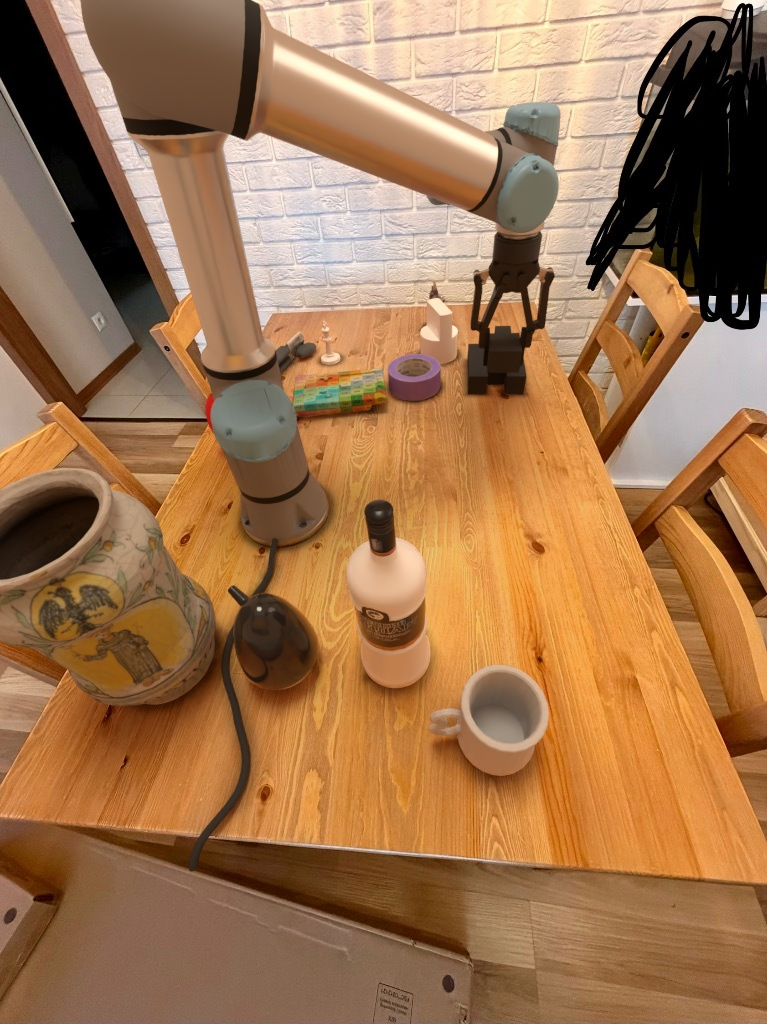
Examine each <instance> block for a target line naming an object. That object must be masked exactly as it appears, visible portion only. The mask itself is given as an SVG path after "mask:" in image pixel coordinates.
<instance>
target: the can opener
mask: <svg viewBox="0 0 767 1024" xmlns="http://www.w3.org/2000/svg"><path fill="white" fill-rule="evenodd" d="M275 350H276V355H277V360H278V365H279V370H280V375H281V374H283V372H284V371H285V370H286V369H287V368H288V367H289V366H290V365H291V364H292V363H293V360H294V359H295V358H294V356H296V358H297V359H298V358H299V359H306V358H309V357H311V356H313V355H314V354H315V352H316V350H317V345H316V343H314V342H308V341H307V342H305V337H304V334H303V333H302V331H300V330H298V331H297V332H296V333H295V334H294V335H293V336H292V337H291V338H290V339H288V341H287V342H286V343H285V344H284V345H280V346H279V347H277V348H276V349H275Z"/></svg>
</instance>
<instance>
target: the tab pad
mask: <svg viewBox="0 0 767 1024" xmlns="http://www.w3.org/2000/svg"><path fill="white" fill-rule="evenodd" d="M511 326H512V325H495V326H494V331H493V332H492V333H491V332H490V342H489V350H488V360H487V373H519V370H520V363H521V357H522V346H521V340H520V336H521V333H520V332H512V328H511Z"/></svg>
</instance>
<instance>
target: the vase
mask: <svg viewBox="0 0 767 1024" xmlns="http://www.w3.org/2000/svg"><path fill="white" fill-rule="evenodd" d="M215 634H216V613H215V608H214V605H213V601H212V600H211V597H210V596H209V594H208V592H207V591H206V590H205V589H204V587H202V585H201V584H199V583H198V582H197V581H196V580H195V579H193V578H191V577H190V576H188V575H186V574H184V573H182V571H181V570H180V568H179V567H178V565H177V564H176V562H175V561H174V559H173V556H172V555H171V554H170V552H169V551H168V549H167V547H166V546H165V544H164V534H163V531H162V529H161V526H160V524H159V521H158V520H157V518H156V517H155V515H154V514H153V512H152V511H151V510H150V509H149V508H148V507H147V506H146V505H145V504H144V503H142V502H141V501H139V499H137V498H135V497H134V496H132V495H130V494H128V493H125V492H122V491H119V490H116V489H112V488H111V486H110V485H109V483H108V481H107V480H106V479H105V478H104V477H102V475H100V474H99V473H98V472H95V471H93V470H90V469H85V468H81V467H80V468H79V467H59V468H53V469H48V470H42V471H39V472H36V473H33V474H30V475H26V476H24V477H22V478H20V479H18V480H16V481H13V482H11V483H9V484H7V485H4V486H3V487H2V488H1V489H0V642H1V643H4V644H6V645H9V646H13V647H18V648H22V649H33V650H35V651H36V652H39V654H41V655H43V656H45V657H46V658H48V659H49V660H51V661H53V662H54V663H56V664H58V665H60V666H61V667H63V668H64V669H66V670H67V671H68V673H69V675H70V677H71V678H72V680H73V682H74V683H75V685H76V686H77V687H78V688H79V689H80V690H81V691H82V692H83V693H85V694H86V695H87V696H89V698H91V699H92V700H94V701H96V702H99V703H101V704H104V705H108V706H109V705H110V706H114V707H115V706H116V707H132V706H140V705H144V704H146V705H162V704H166V703H169V702H171V701H175V700H177V699H178V698H180V697H181V696H184V695H185V694H187V693H188V692H190V691H191V690H193V688H194V687H195V686H196V685H197V684H199V682H200V681H201V680H202V679H203V677H204V676H206V674H207V672H208V670H209V668H210V666H211V664H212V662H213V659H214V656H215V655H214V654H215V647H216V642H215Z"/></svg>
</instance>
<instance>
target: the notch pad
mask: <svg viewBox="0 0 767 1024" xmlns="http://www.w3.org/2000/svg"><path fill="white" fill-rule="evenodd" d="M483 351H484V348H479V343H468V346H467V358H466V360H467V361H466V363H467V365H466V366H467V367H466V368H467V371H466V372H467V375H466V377H467V395H487V391H488V390H487V389H488V386H489V385H490V386H503V391H504V395H524V394H525V387H526V383H527V377H528V375H527V370H526V365H525V358H524V357H523V363H522V366H520V370H519V373H487V366H483Z"/></svg>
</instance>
